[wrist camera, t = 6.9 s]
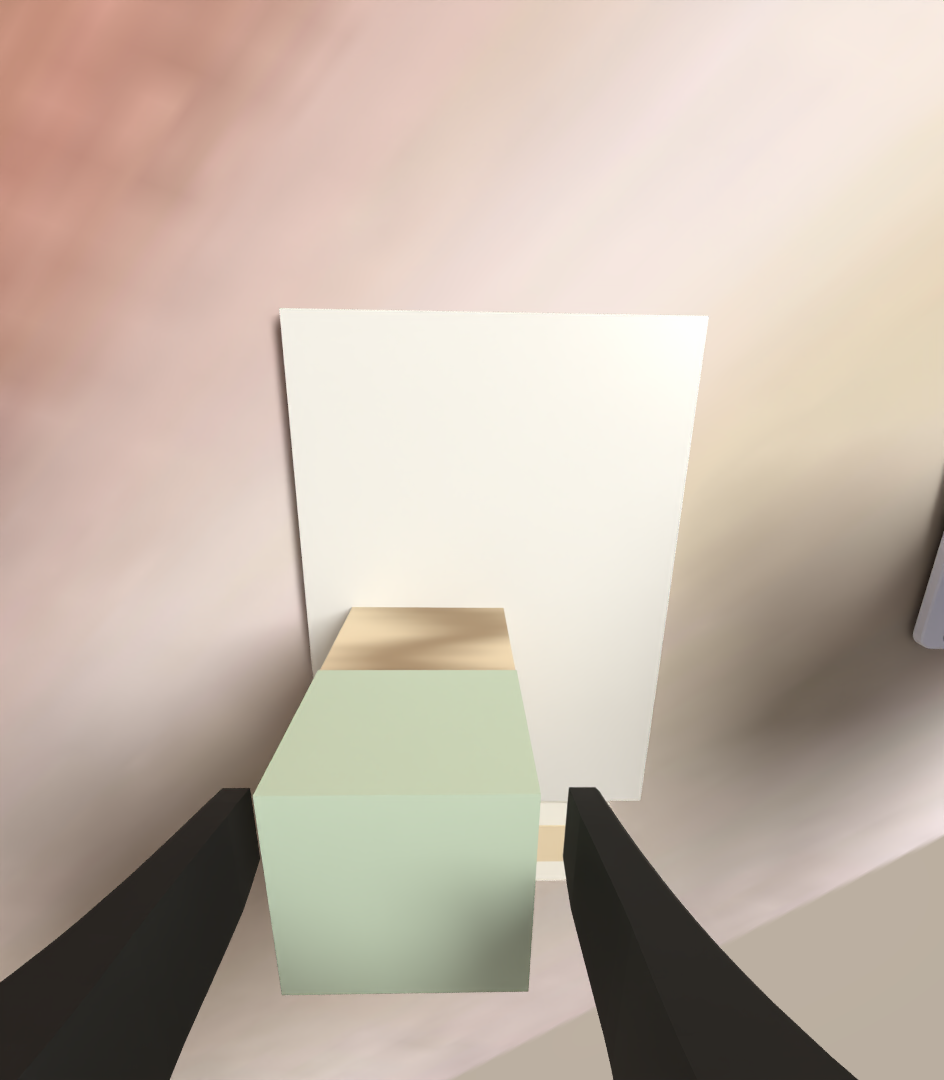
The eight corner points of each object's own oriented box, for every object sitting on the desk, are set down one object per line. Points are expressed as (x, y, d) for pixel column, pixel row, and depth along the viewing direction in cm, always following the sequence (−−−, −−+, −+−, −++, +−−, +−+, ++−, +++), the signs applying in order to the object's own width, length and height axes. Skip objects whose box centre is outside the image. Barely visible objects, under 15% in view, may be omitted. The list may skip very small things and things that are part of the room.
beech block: (503, 607, 16) (516, 674, 12) (498, 734, 18) (509, 829, 14) (352, 606, 16) (318, 673, 12) (360, 734, 18) (331, 830, 14)
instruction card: (608, 798, 19) (610, 804, 19) (599, 875, 21) (601, 881, 20) (457, 799, 19) (457, 804, 19) (456, 876, 20) (456, 882, 20)
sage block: (516, 669, 12) (541, 794, 9) (509, 825, 14) (528, 991, 10) (318, 670, 12) (252, 796, 8) (331, 826, 14) (281, 995, 10)
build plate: (699, 318, 14) (709, 315, 14) (634, 788, 19) (640, 800, 19) (286, 311, 14) (279, 307, 14) (328, 789, 19) (324, 801, 18)
